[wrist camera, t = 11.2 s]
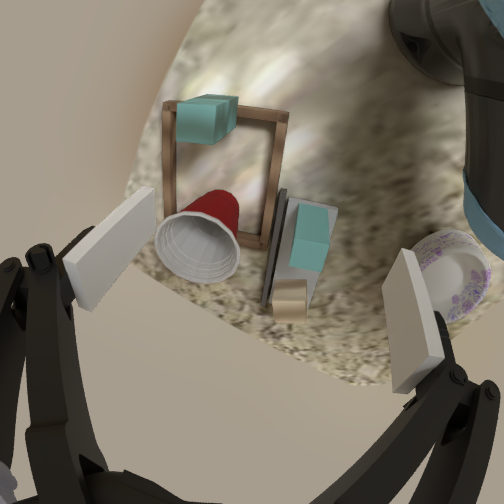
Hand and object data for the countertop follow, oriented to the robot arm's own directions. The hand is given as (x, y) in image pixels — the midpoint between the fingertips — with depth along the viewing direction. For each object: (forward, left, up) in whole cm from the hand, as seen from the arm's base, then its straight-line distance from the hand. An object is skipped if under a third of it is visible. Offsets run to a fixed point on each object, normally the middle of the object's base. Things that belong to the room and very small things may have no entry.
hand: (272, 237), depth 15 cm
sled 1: (+7, -10, -26) cm, 28 cm away
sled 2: (+20, +4, -26) cm, 33 cm away
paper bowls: (+15, +26, -26) cm, 40 cm away
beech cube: (+26, +4, -25) cm, 36 cm away
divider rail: (+20, -1, -26) cm, 33 cm away
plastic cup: (+13, -9, -26) cm, 31 cm away
